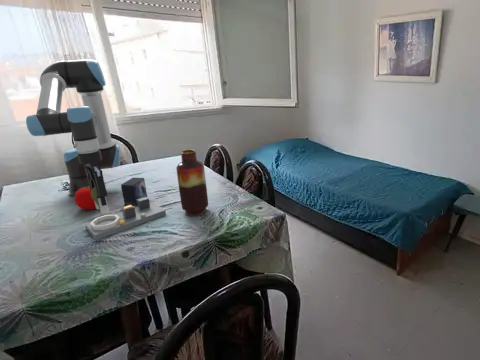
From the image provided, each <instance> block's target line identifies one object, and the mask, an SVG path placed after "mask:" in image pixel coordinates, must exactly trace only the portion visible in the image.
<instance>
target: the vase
mask: <svg viewBox="0 0 480 360" xmlns="http://www.w3.org/2000/svg"><path fill="white" fill-rule="evenodd" d="M180 158H181V162H179V163H177V166H176V168H175V169H176V176H177V183H178V191H179V197H180V203H181V208H182V210H183V211H184V214H185V215H186V216H187V217H199V216H203V215H204V214H205V213H207V207H208V206H209V200H208V199H209V197H208V189H207V179H206V172H205V171H206V170H205V165H204V163H203V162H202V161H201V160H199V159H198V157H197V152H196V150H195V149H185V150H182V151H181V152H180Z"/></svg>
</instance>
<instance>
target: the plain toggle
mask: <svg viewBox="0 0 480 360" xmlns="http://www.w3.org/2000/svg"><path fill="white" fill-rule="evenodd" d="M137 203H138V205H137V207H138V208H140V209H141V210H142V209H145V208H148V207H150V198H149V197H148V196H147V197H143V198H140V199H137Z"/></svg>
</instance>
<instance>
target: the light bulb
mask: <svg viewBox="0 0 480 360" xmlns="http://www.w3.org/2000/svg"><path fill="white" fill-rule="evenodd" d="M106 191H107V192H108V190H107V189H106ZM91 197H92V199H93V200H94V201H95V202H96V203H97V205H98V206H99V202H98V199H97V198H96V197H98V194H97V191H96V188H95V187H94V188H93V189H92V190H91ZM107 197H108V195H107V196H106V199H107ZM98 210H99V211H100V212H101V210H100V206H99V209H98Z"/></svg>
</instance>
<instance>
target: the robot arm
mask: <svg viewBox="0 0 480 360" xmlns="http://www.w3.org/2000/svg"><path fill="white" fill-rule="evenodd" d="M39 85H40V93H39V97H38V105H37V108H36V114H31V115H28V116H26V119H25V123H26V127H27V130H28V132H29V133H30V135H31V136H33V137H41V136H42V137H46V136H52V135H54V136H55V135H61V134H71V135H72V139H73V142H74V143H73V144H72V146H73V148H70V149H68V150H66V151H65V152H63V160H64V163H65V167H66V171H67V175H68V179H69V183H68V185H69V186H68V193H69V196H71V197H75V194H76V192H77V191H78V190H79V189H81V188H83V187H84V186H85V187H86V186H89V187H90V190H92V189H93V188H94V187H95V188H96V191H97V194H98V197H96V198H97V199H98V202H99V206H100V210H101V211H100V210H99V206H98V205H97V203H96V202H95V205H96V208H95V209H96V210H99V211H100V213H101V215H104V214H107V213H110V209H109V204H108V200H107V198H106V196H107V197H108V190H107V188H106V183H105V180H104V175H103V170H106V169H114V168H118V167H120V165H121V154H120V145H119V144H116V141H115V140H113V139H112V136H111V131H110V127H109V123H108V117H107V113H106V109H105V106H104V100H103V96H102V92H103V91H104V87H105V86H106V85H107V84H106V80H105V76H104V74H103V70H102V68H101V66H100V64H99V62H98V61H97V60H95V59H75V60H59V61H56V62H55V61H54V62H53V63H52V64H50V65H49V66H47V67H46V68H45V69H44V70H43V71H42V73H41V74H40V77H39ZM74 88H75V90H76V93H78V94H79V95H81V99H82V102H83V105H81V106H72V107H68V108H66V111H65V112H62V111H61V109H62V100H63V92H64V91H65V90H66V89H74ZM106 190H107V191H106Z"/></svg>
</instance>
